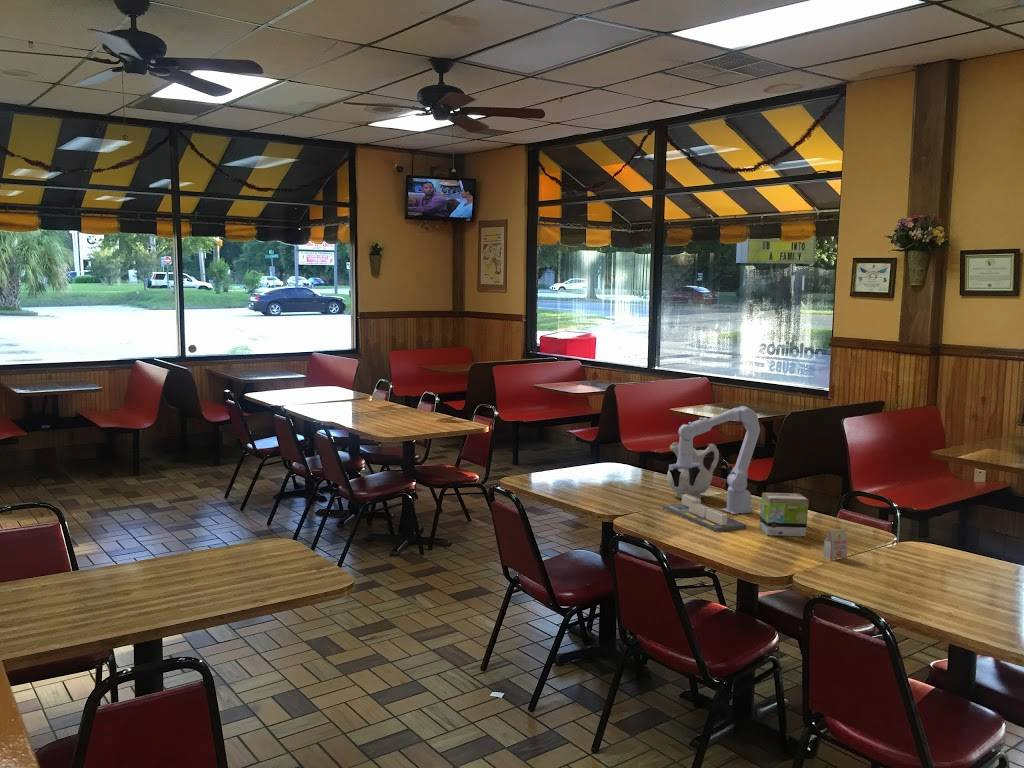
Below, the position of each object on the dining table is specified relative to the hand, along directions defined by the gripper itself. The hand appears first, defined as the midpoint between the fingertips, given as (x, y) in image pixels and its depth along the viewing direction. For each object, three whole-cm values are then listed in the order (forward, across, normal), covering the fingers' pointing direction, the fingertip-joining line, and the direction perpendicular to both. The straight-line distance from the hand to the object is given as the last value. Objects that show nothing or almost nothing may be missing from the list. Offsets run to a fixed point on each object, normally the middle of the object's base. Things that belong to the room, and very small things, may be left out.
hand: (683, 485), depth 358 cm
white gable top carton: (+11, -13, +72) cm, 74 cm away
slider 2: (+9, +2, +14) cm, 16 cm away
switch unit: (+10, 0, +13) cm, 17 cm away
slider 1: (+9, -2, +2) cm, 9 cm away
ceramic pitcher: (+11, -17, -18) cm, 27 cm away
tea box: (+11, -17, +41) cm, 46 cm away
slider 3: (+9, +2, +25) cm, 27 cm away
